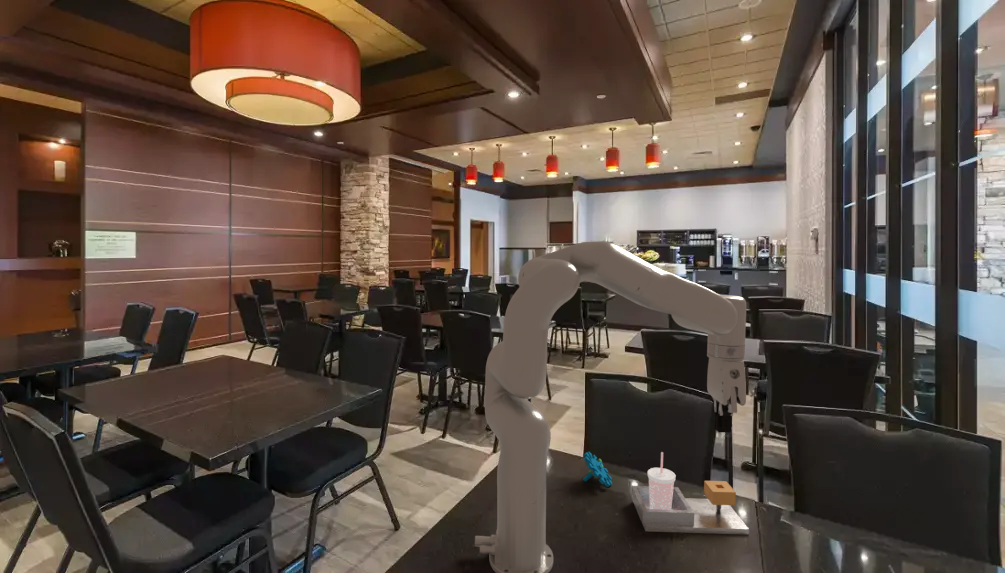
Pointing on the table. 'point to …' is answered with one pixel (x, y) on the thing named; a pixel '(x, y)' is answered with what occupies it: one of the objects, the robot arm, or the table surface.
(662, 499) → the beverage cup
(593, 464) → the blue lobed piece
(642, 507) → the gray tray
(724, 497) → the amber wooden brick
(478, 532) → the table surface
